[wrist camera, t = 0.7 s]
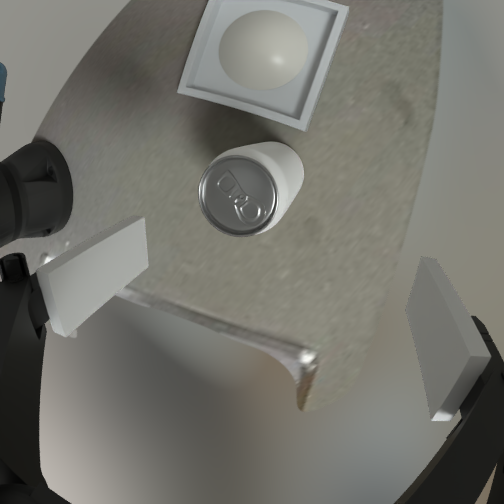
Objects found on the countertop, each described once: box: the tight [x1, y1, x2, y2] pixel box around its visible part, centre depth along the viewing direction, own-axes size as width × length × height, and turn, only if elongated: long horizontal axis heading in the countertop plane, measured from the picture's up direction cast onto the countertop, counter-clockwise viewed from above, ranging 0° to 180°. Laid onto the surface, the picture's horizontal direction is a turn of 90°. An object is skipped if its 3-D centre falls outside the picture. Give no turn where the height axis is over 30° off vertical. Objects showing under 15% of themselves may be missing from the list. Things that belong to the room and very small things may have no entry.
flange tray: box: [177, 0, 349, 131], centre depth 25 cm, size 14×14×2 cm
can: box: [198, 142, 304, 237], centre depth 26 cm, size 6×6×12 cm
